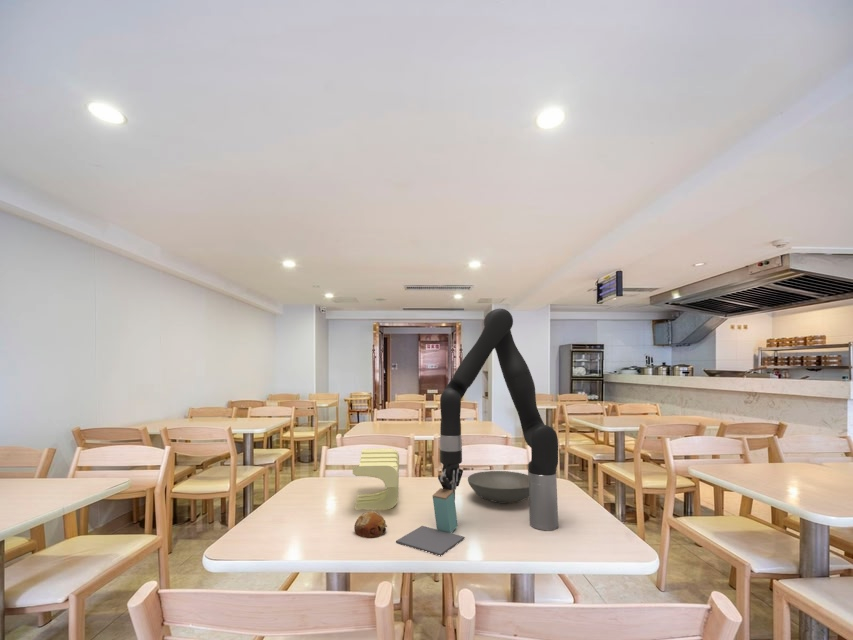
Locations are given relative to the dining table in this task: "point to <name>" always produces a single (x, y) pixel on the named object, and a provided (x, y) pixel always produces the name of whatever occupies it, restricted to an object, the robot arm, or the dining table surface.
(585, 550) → the dining table surface
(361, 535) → the bread roll
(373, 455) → the slatted curved stool
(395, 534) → the dining table surface
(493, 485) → the bowl
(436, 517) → the teal block
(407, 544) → the mat
